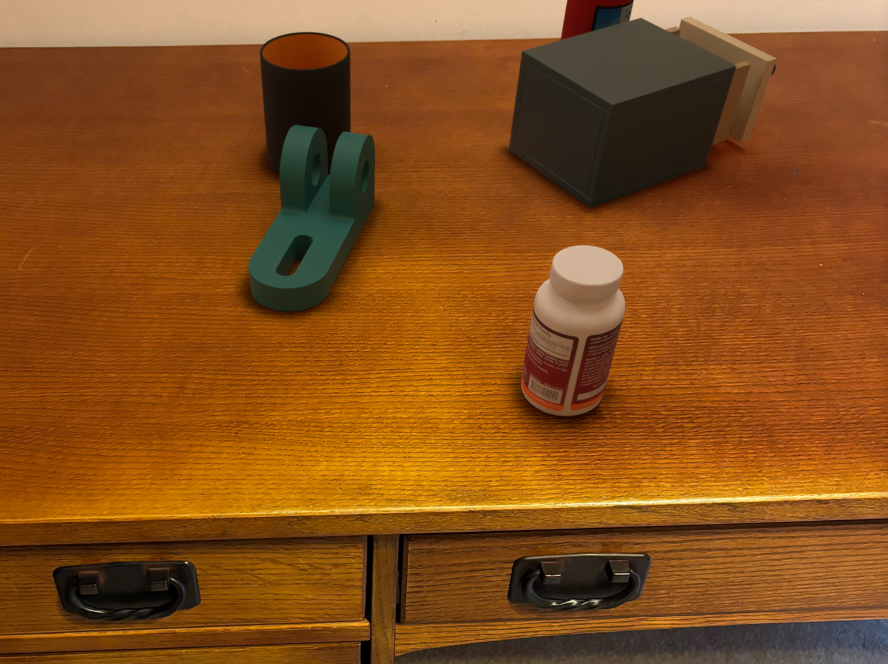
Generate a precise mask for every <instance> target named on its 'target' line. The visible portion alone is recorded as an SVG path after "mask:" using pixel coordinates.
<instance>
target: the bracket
mask: <svg viewBox="0 0 888 664" xmlns="http://www.w3.org/2000/svg"><path fill="white" fill-rule="evenodd" d="M375 178H376V145H375V140H374V137H373V136H372V135H371V134H364V133H360V132H352V131H351V132H343V133H342V134H341V135H340V137H339V139H338V141H337V144H336V147H335V150H334V154H333V159H332V164H331V171H330V175H328V155H327V140H326V136H325V133H324V131H323V129H321V128H315V127H307V126H300V125H293V126H292V127H291V128H290V130H289V132H288V134H287V136H286V139H285V142H284V145H283V150H282V155H281V162H280V174H279V192H280V193H279V194H280V195H279V196H280V210H279V212H278V213H277V215H276V217H275V218H274V220H273V222H272V223H271V225H269V228H268V230H267V231H266V232H265V235H264V236H263V238H262V239H261V240H260V242H259V244H258V245H257V247H256V249H255V251H254V252H253V254H252V255H251V256H250V259H249V261H248V266H247V268H248V277H249V286H250V295H251V296H252V298H253V299H254V300H255V302H257V303H258V304H259V305H260V306H262V307H264V308H267V309H269V310H274V311H278V312H286V313H288V312H289V313H290V312H300V311H305V310H308V309H312V308H313V307H315V306H318V305H319V304H321V303H322V302H323V301H324V300H325V299H326V298H327V297H329V296H328V295H329V294H330V292H331V290H332V288H333V287H334V284H335V282H336V280H337V279H338V276H339V274H340V272H341V270H342V269H343V267H344V265H345V263H346V261H347V259H348V257H349V255H350V253H351V251H352V249H353V247H354V245H355V243H356V241H357V239H358V238H359V235H360V233H361V231H362V229H363V228H364V226H365V223H366V221H368V218H369V216H370V213H371V212H372V211H373V208H374V206H375V196H376V195H375V193H376V192H375V191H376V189H375V188H376V187H375V186H376V179H375ZM299 259H302V260H301V262H300V263H299V265H298V267H297V269H296V270H295V272H294V273H292V274H290V275H289V273H290V272H291V269H292V268H293V266H294V265H295V262H296V261H297V260H299Z"/></svg>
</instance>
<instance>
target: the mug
mask: <svg viewBox="0 0 888 664" xmlns="http://www.w3.org/2000/svg"><path fill="white" fill-rule="evenodd" d="M259 64H260V76H261V90H262V103H263V116H264V127H265V129H264V131H265V141H266V143H265V144H266V155H267V163H268V166H269V167H270V168H271V170H272V171H273V172H275V173H276V174H278V175H280V162H281V155H282V150H283V145H284V142H285V139H286V136H287V134H288V132H289V130H290V128H291V127H292V126H293V125H300V126H307V127H315V128H321V129H323V131H324V133H325V136H326V140H327V155H328V175H330V171H331V164H332V159H333V154H334V150H335V147H336V144H337V141H338V139H339V137H340V135H341V134H342V133H343V132H352V130H351V129H352V127H351V125H352V123H351V120H352V119H351V118H352V117H351V116H352V115H351V112H352V111H351V110H352V109H351V108H352V107H351V106H352V104H351V102H352V101H351V100H352V99H351V49H350V46H349V44H348V43H347V42H346V41H345V40H343V39H342V38H340V37H338V36H335V35H333V34H332V35H331V34H328V33H324V32H317V31H295V32H289V33H284V34H280V35H278V36H275V37H272V38H270V39H269V40H267V41H265V42H264V43H263V44H262V46H261V47H260V49H259Z"/></svg>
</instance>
